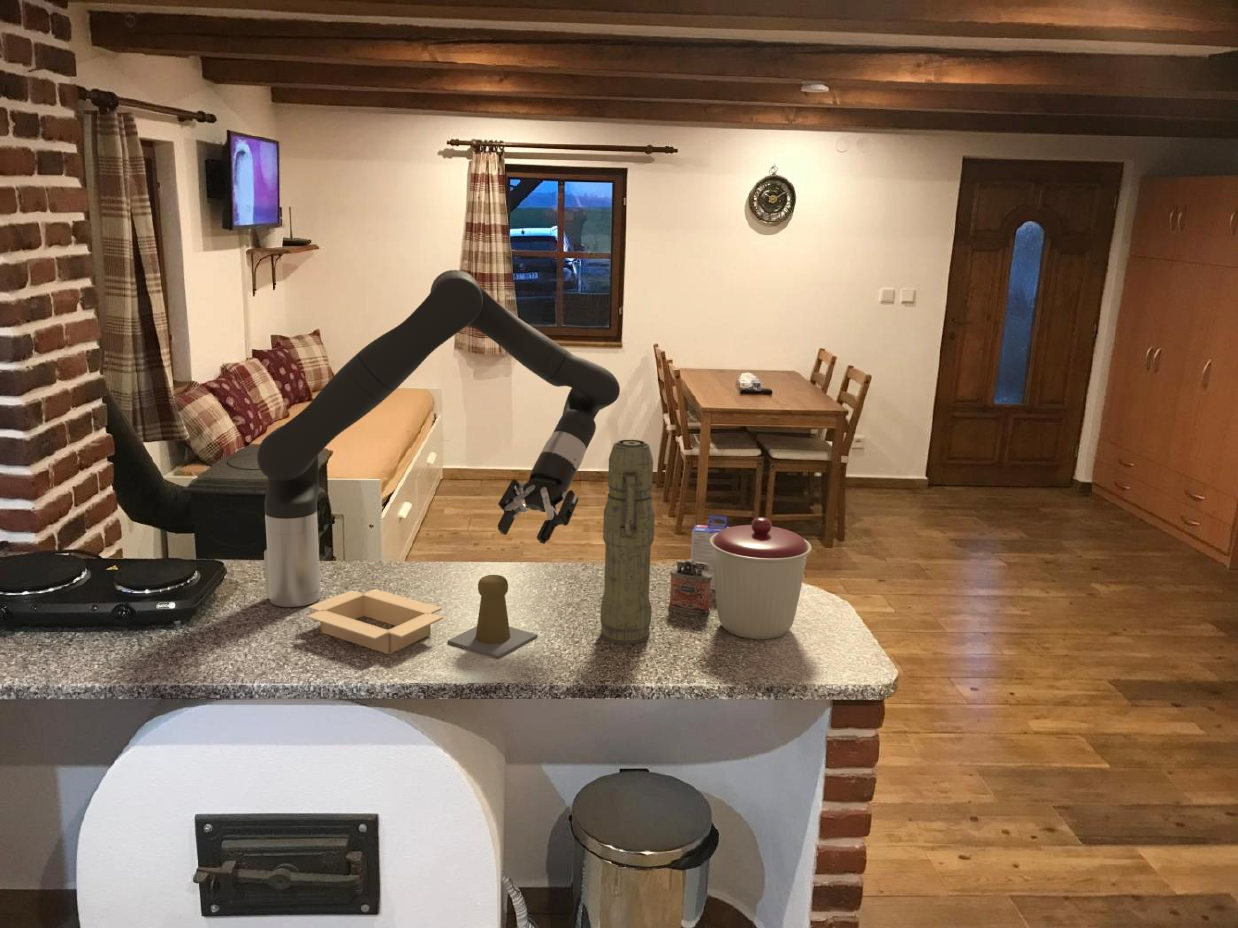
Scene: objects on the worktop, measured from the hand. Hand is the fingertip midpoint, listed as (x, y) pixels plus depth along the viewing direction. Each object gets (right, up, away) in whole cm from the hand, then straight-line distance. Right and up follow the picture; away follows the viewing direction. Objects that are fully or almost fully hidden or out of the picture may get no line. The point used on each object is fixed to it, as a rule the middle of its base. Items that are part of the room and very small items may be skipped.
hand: (520, 536), depth 173 cm
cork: (-5, -17, -2) cm, 18 cm away
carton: (-25, -17, -1) cm, 30 cm away
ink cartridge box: (+37, -12, +27) cm, 47 cm away
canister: (+42, -17, +6) cm, 46 cm away
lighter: (+31, -15, +14) cm, 37 cm away
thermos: (+18, -18, +2) cm, 26 cm away
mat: (-5, -18, -3) cm, 19 cm away
